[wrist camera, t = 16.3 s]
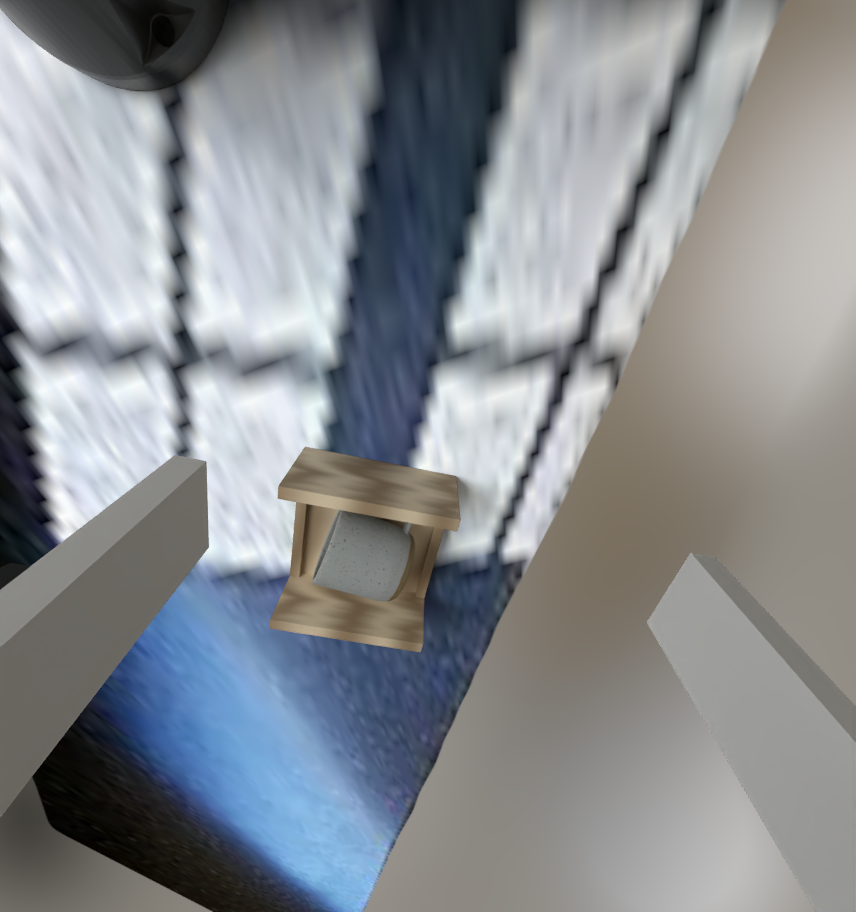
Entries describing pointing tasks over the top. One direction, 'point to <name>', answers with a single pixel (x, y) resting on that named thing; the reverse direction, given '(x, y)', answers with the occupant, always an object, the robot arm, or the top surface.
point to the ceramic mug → (365, 557)
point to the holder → (370, 493)
